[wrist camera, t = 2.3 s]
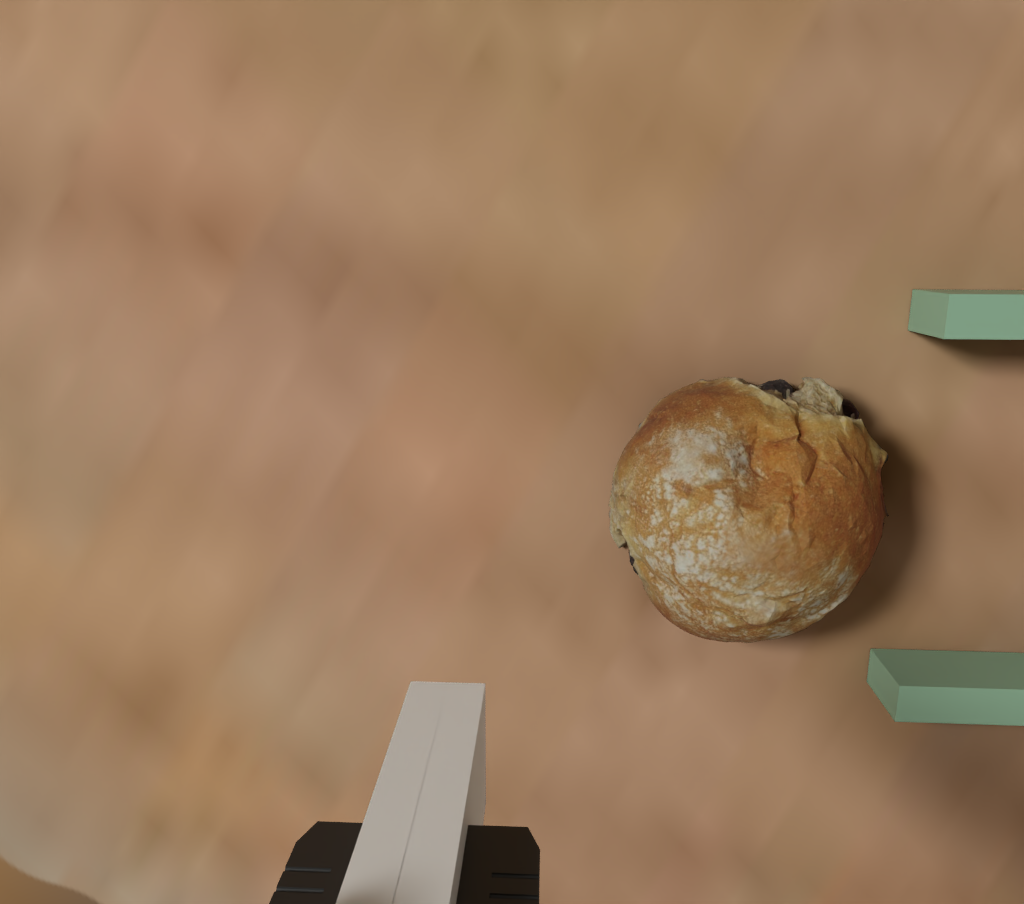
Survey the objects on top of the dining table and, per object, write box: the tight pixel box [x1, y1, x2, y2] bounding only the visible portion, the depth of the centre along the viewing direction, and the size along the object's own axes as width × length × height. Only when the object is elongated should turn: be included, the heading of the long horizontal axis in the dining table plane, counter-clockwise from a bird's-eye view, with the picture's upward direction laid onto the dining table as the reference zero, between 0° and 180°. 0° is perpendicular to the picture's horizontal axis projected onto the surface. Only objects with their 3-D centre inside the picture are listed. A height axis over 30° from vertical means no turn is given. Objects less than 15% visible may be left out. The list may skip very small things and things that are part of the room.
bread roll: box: [609, 377, 889, 643], centre depth 31 cm, size 10×10×8 cm
